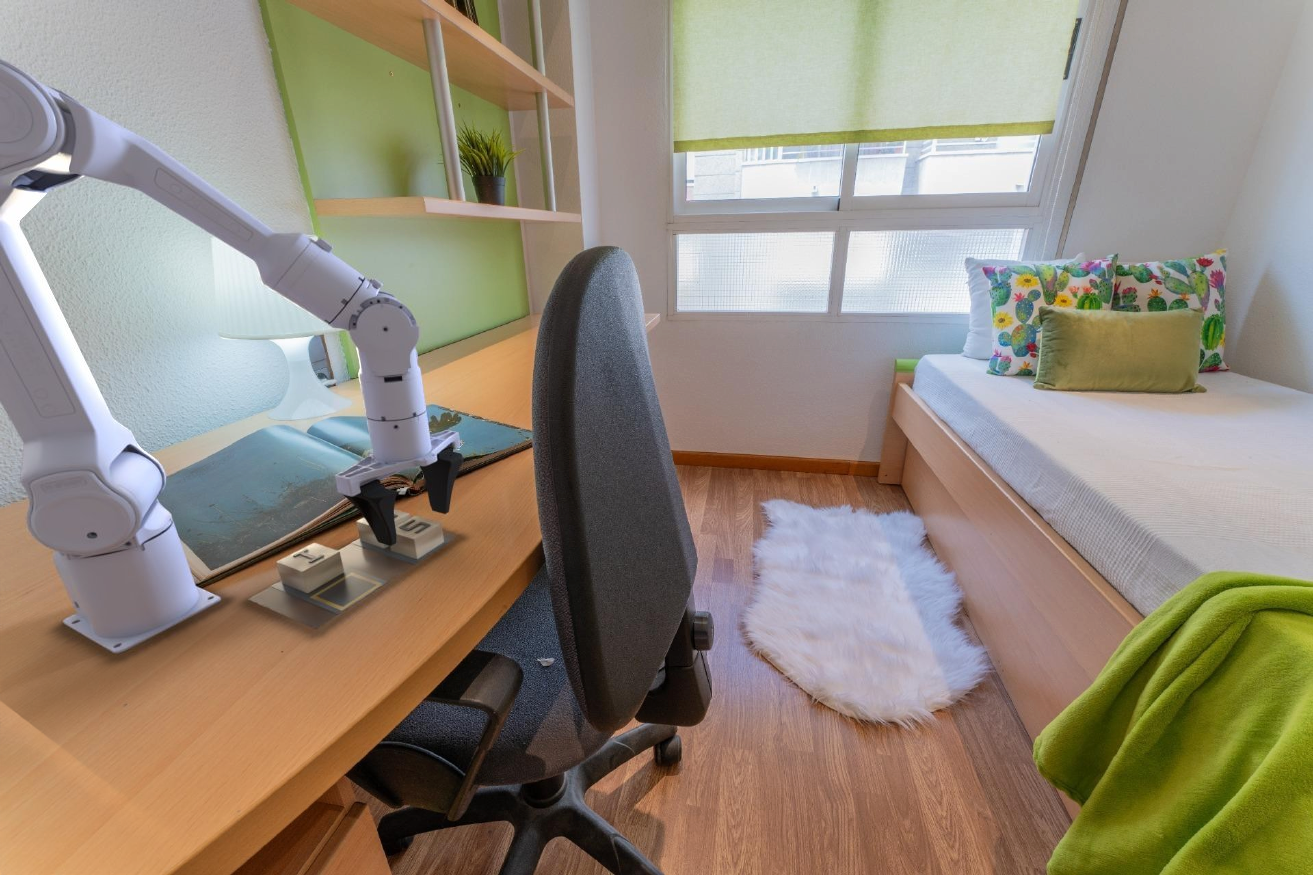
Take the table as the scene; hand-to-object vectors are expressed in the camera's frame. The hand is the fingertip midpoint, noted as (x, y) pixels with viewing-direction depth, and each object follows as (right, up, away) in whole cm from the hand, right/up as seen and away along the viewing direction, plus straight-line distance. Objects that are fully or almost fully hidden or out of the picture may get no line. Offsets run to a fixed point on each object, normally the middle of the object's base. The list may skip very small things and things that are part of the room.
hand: (415, 526), depth 59 cm
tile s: (0, -3, +1) cm, 3 cm away
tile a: (-5, -2, +3) cm, 6 cm away
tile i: (-8, -5, -5) cm, 11 cm away
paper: (-6, +4, +20) cm, 21 cm away
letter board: (-4, -4, -2) cm, 6 cm away
